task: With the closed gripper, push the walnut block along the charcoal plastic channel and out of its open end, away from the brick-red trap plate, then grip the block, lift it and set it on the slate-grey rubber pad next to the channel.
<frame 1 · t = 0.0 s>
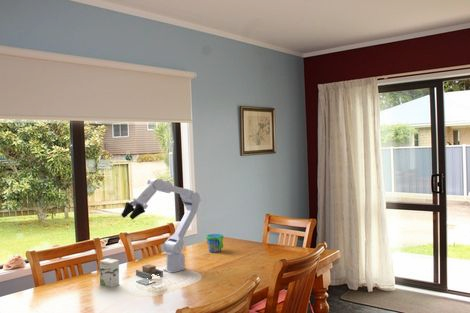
hand: (126, 217, 205), 32 cm above the table, tool tilted 50°, fingers open, 7 cm apart
channel: (149, 275, 217), on the table
walnut block: (149, 275, 217), on the table
pad: (146, 282, 206), on the table
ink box: (109, 284, 204), on the table
snack cup: (215, 251, 264), on the table
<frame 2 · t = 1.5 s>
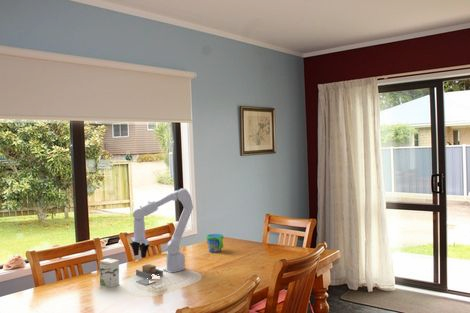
hand: (139, 256, 223), 8 cm above the table, tool pointing down, fingers open, 6 cm apart
nothing on the table moved.
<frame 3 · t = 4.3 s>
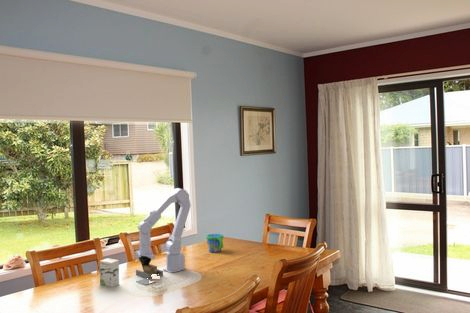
hand: (145, 270, 219), 2 cm above the table, tool pointing down, fingers closed
walnut block: (150, 275, 217), on the table, touching gripper
everything else where it was.
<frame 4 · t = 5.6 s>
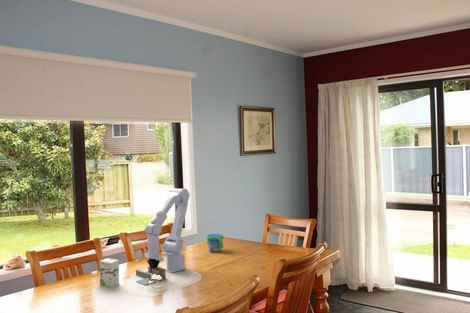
hand: (154, 273, 214), 2 cm above the table, tool pointing down, fingers closed
walnut block: (158, 278, 211), on the table, touching gripper
everything else where it was.
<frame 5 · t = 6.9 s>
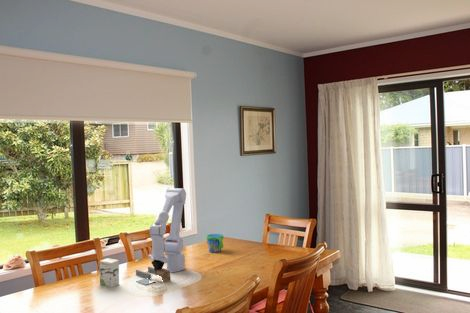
hand: (158, 274, 212), 2 cm above the table, tool pointing down, fingers closed
walnut block: (163, 280, 209), on the table, touching gripper
everything else where it was.
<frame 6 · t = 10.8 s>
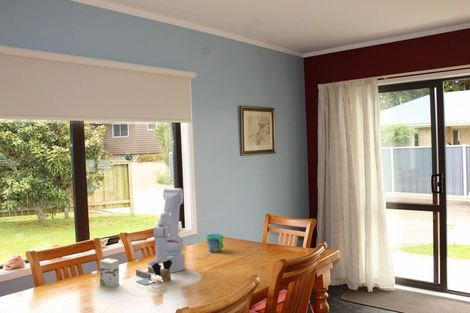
hand: (162, 276, 209), 1 cm above the table, tool pointing down, fingers closed on walnut block, 5 cm apart
walnut block: (163, 280, 209), on the table, touching gripper
everything else where it was.
when the fingers open (3 cm above the table, at t = 14.4 s): walnut block stays where it is, resting on pad.
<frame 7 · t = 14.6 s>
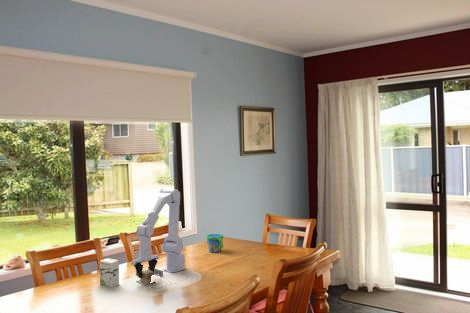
hand: (145, 276, 206), 3 cm above the table, tool pointing down, fingers open, 6 cm apart
walnut block: (147, 281, 205), resting on pad
everything else where it was.
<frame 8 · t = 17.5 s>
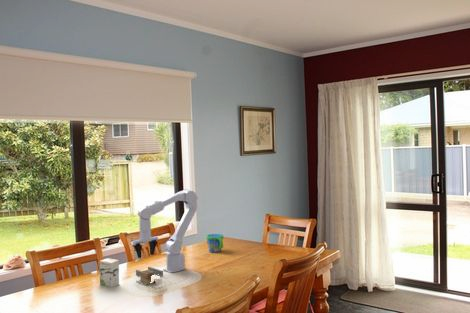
hand: (145, 256, 219), 9 cm above the table, tool pointing down, fingers open, 7 cm apart
nothing on the table moved.
at the end: walnut block 1.4 cm off-centre on the pad, point 0.4 cm above the pad's base; walnut block tilted 0°; the gripper is holding nothing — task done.
